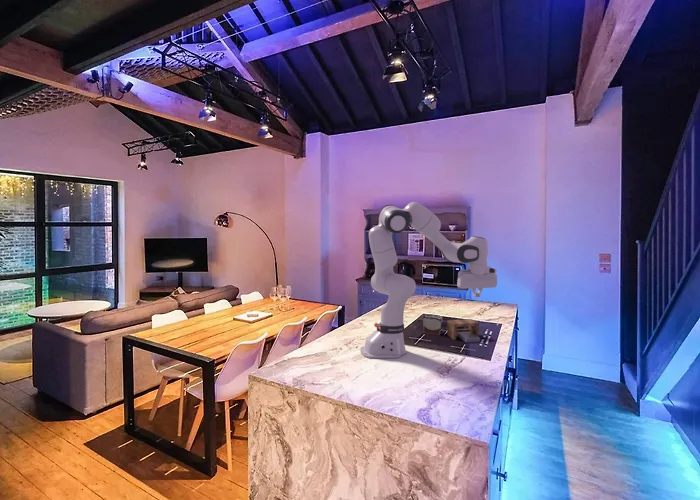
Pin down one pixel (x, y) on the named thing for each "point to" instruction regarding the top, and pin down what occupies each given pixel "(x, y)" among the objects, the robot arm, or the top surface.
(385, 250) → the robot arm
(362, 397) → the top surface
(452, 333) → the walnut shelf
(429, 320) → the food container
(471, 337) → the slate tile
